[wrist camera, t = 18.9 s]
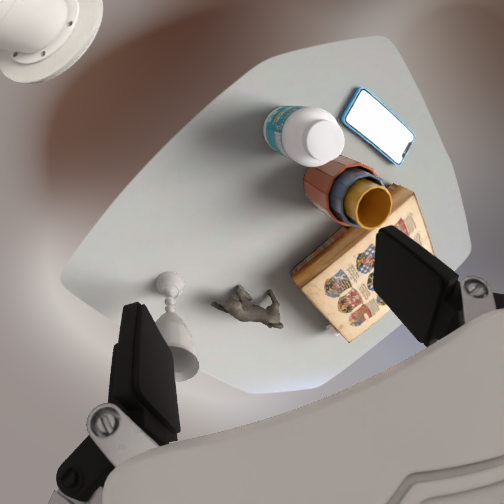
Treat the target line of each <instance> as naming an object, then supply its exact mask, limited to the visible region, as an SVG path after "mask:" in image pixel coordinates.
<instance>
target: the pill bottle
mask: <svg viewBox="0 0 504 504" xmlns="http://www.w3.org/2000/svg"><path fill="white" fill-rule="evenodd" d="M263 133H264V138H265V140H266V142H267V144H268V145H269V146H270V147H271V148H272V149H273V150H275V151H276V152H278V153H280V154H282V155H284V156H286V157H288V158H289V159H291V160H293V161H295V162H297V163H299V164H301V165H303V166H307V167H317V166H321V165H324V164H326V163H327V162H329V161H331V160H333V159H335V158H337V157H338V156H339V155H340V153H341V152H342V150H343V147H344V134H343V132H342V130H341V128H340V127H339V125H338V123H337V121H336V120H335V118H334V117H333V116H332V115H331V114H330V113H328V112H327V111H325V110H323V109H320V108H317V107H302V106H282V107H279V108H277V109H275V110H273V111H272V112H271V113H270V114H269V115H268V116H267V118H266V120H265V122H264V127H263Z"/></svg>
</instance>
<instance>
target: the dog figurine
mask: <svg viewBox="0 0 504 504" xmlns="http://www.w3.org/2000/svg"><path fill="white" fill-rule="evenodd" d="M236 288H237V289H238V290H237V295H238V298H239V301H238V300H237V299H236V297H235V296H231V297H230V298H229V300H227V301H226V304H225V305H224V307H223V306H222V305H221V304H218V303H217V302H212V303H211V305H212V306H213V307H215V308H217V309H219V310H222V311H224V312H226V313H229V314H231V315H232V316H233V317H234V318H236V319H238V320H239V321H242V322H247V321H252V322H262V323H263V324H265V325H267V326H268V327H269V328H272V327H275V328H280V329H281V328H283V327H284V326H283V324H282V323H281V322H280V313H279V310H278V307H279V302H278V301H277V300H276V298H275V296H274V294H273V292H272V290H268V292H267V294H268V295H269V296H270V297H271V300H272V304H271V305H270V306H268V307H267V308H266V309H264V308H262V307H260V306H258V305H251V304H250V302H249V301H250V300H252V298H251V296H250V295H249V294H248V293H247V292H246V291H244V289H243V287H242V286H241V285H238V286H237V287H236Z"/></svg>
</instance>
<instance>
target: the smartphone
mask: <svg viewBox="0 0 504 504" xmlns="http://www.w3.org/2000/svg"><path fill="white" fill-rule="evenodd" d="M341 120H342V123H343V124H344V125H346V126H347V127H348V128H350V129H351V130H352V131H354V132H355V133H356V134H358V135H359V136H360V137H361V138H363V139H364V140H365V141H366V142H368V143H369V144H370V145H371V146H373V147H374V148H375V149H376V150H378V151H379V152H380V153H381V154H382V155H384V156H385V157H386V158H387V159H388V160H389V161H391V162H392V163H393V164H394V165H397V166H400V165H401V164H402V162H403V160H404V159H405V157H406V155H407V153H408V151H409V149H410V147H411V146H412V144H413V142H414V140H415V134H414V133H413V132H412V131H411V129H410V128H409V127H408V126H407V125H406V124H405V123H403V122H402V121H401V120H400V119H399V118H398V117H397V116H396V115H395V114H394V113H393V112H392V111H391V110H390V109H389V108H388V107H387V106H385V105H384V104H383V103H382V102H381V101H380V100H379V99H378V98H376V97H375V96H374V95H373V94H372V93H371V92H369V91H368V90H367V89H366V88H358V89H357V90H356V92H355V94H354V96H353V98H352V99H351V101H350V103H349V105H348V106H347V108H346V110H345V112H344V113H343V115H342V118H341Z"/></svg>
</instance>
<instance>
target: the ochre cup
mask: <svg viewBox="0 0 504 504" xmlns="http://www.w3.org/2000/svg"><path fill="white" fill-rule="evenodd" d="M392 204H393V203H392V197H391V194H390V193H389V191H388V190H387V189H386V188H385V187H383V186H381V185H379V184H377V183H375V182H373V181H371V180H369V179H367V178H365V177H363V178H358V179H357V180H356V181H355V182H354V183H353V184H351V185H350V186H349V187H348V189H347V191H346V194H345V196H344V199H343V213H344V214H345V215H346V216H348V217H349V218H350V219H352V220H353V221H354V222H355V223H357V224H358V225H359V226H361V227H362V228H364V229H368V230H372V229H375V228H378V227H380V226H381V225H382V224H383V223H385V222H386V220H387V218H388V217H389V215H390V213H391V209H392Z"/></svg>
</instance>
